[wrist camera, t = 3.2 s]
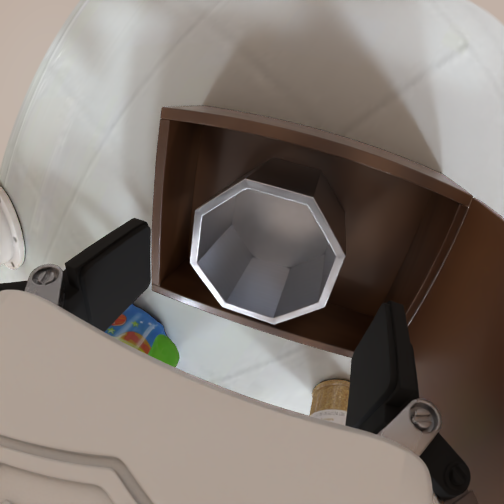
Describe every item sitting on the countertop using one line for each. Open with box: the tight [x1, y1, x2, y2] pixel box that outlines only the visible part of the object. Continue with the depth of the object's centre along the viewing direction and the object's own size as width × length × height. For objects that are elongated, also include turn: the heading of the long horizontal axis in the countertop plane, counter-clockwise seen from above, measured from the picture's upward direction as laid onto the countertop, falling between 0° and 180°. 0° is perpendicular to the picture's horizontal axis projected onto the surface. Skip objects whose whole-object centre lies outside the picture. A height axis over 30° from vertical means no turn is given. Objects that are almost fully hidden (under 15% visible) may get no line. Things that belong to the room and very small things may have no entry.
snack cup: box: [105, 304, 179, 367], centre depth 24 cm, size 16×10×10 cm
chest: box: [152, 105, 473, 358], centre depth 16 cm, size 15×11×5 cm
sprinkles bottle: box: [309, 379, 350, 425], centre depth 19 cm, size 5×5×14 cm
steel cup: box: [190, 157, 346, 325], centre depth 15 cm, size 7×7×6 cm
